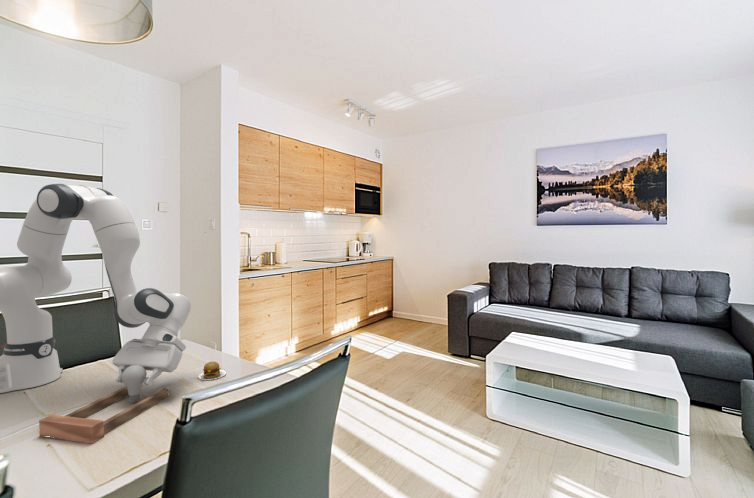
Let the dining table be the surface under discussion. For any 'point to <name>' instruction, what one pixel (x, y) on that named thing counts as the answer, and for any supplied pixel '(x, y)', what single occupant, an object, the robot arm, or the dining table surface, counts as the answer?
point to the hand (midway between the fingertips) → (132, 383)
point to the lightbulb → (134, 381)
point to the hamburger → (211, 371)
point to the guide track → (93, 430)
